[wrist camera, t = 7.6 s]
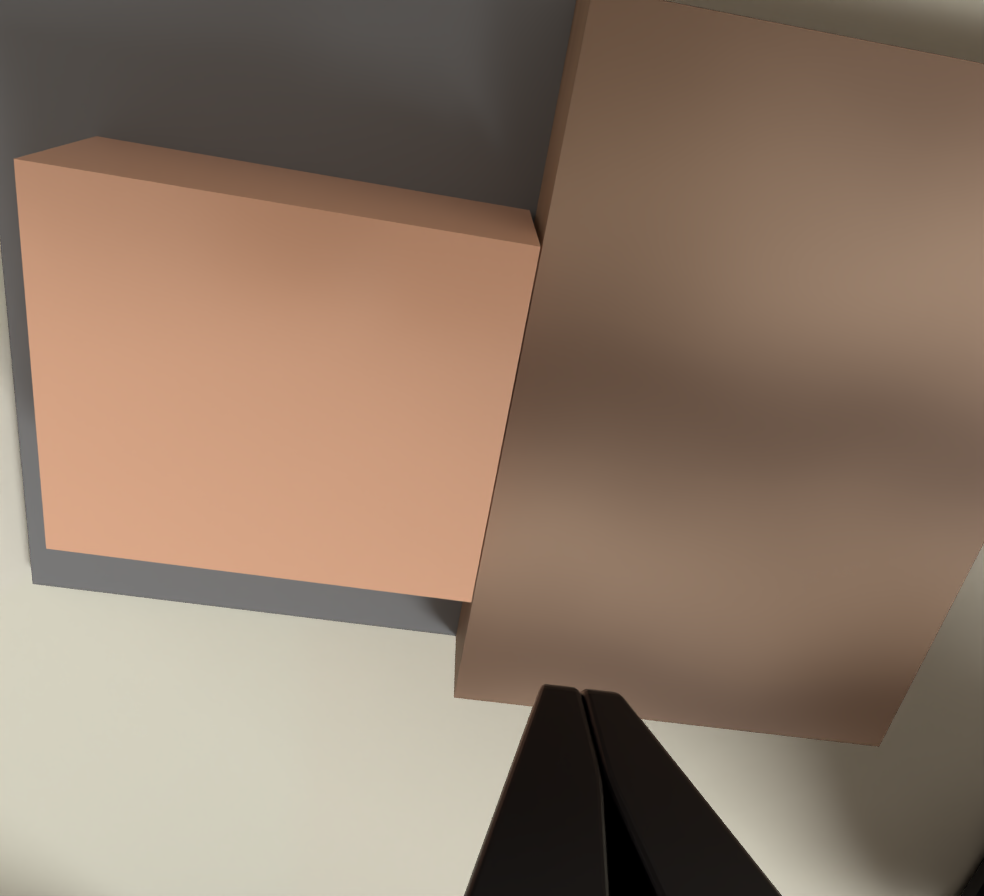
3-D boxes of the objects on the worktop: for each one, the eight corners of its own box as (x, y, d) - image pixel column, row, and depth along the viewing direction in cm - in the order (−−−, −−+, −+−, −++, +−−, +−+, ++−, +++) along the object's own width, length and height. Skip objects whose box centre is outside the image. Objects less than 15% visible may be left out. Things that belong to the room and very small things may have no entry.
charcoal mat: (456, 625, 21) (456, 636, 20) (40, 573, 20) (32, 583, 19) (574, -7, 14) (577, -8, 14) (-21, -124, 14) (-35, -128, 13)
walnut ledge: (837, 672, 22) (878, 746, 19) (456, 625, 21) (453, 697, 18) (1101, 96, 15) (1207, 107, 13) (574, -7, 14) (592, -14, 12)
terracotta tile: (471, 521, 19) (471, 602, 16) (110, 472, 18) (46, 548, 15) (529, 210, 16) (540, 246, 13) (96, 135, 15) (13, 158, 12)
